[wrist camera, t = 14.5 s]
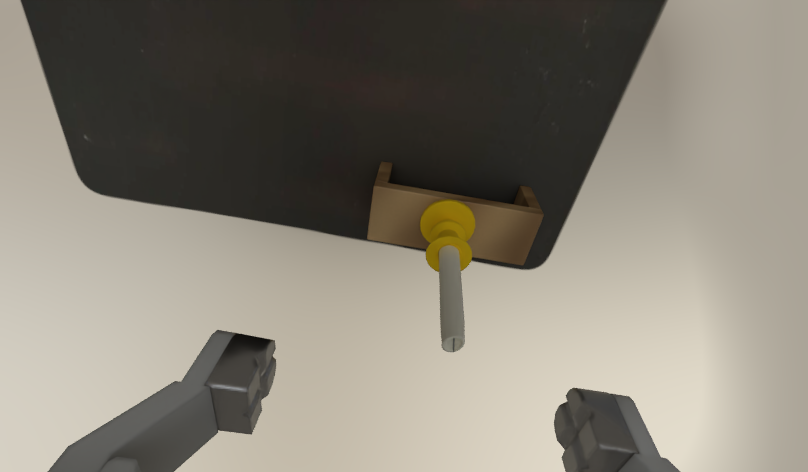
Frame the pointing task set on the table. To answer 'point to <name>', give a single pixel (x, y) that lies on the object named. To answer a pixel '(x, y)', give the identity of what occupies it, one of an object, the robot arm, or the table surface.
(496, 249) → the shelf
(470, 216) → the candle
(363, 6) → the table surface
